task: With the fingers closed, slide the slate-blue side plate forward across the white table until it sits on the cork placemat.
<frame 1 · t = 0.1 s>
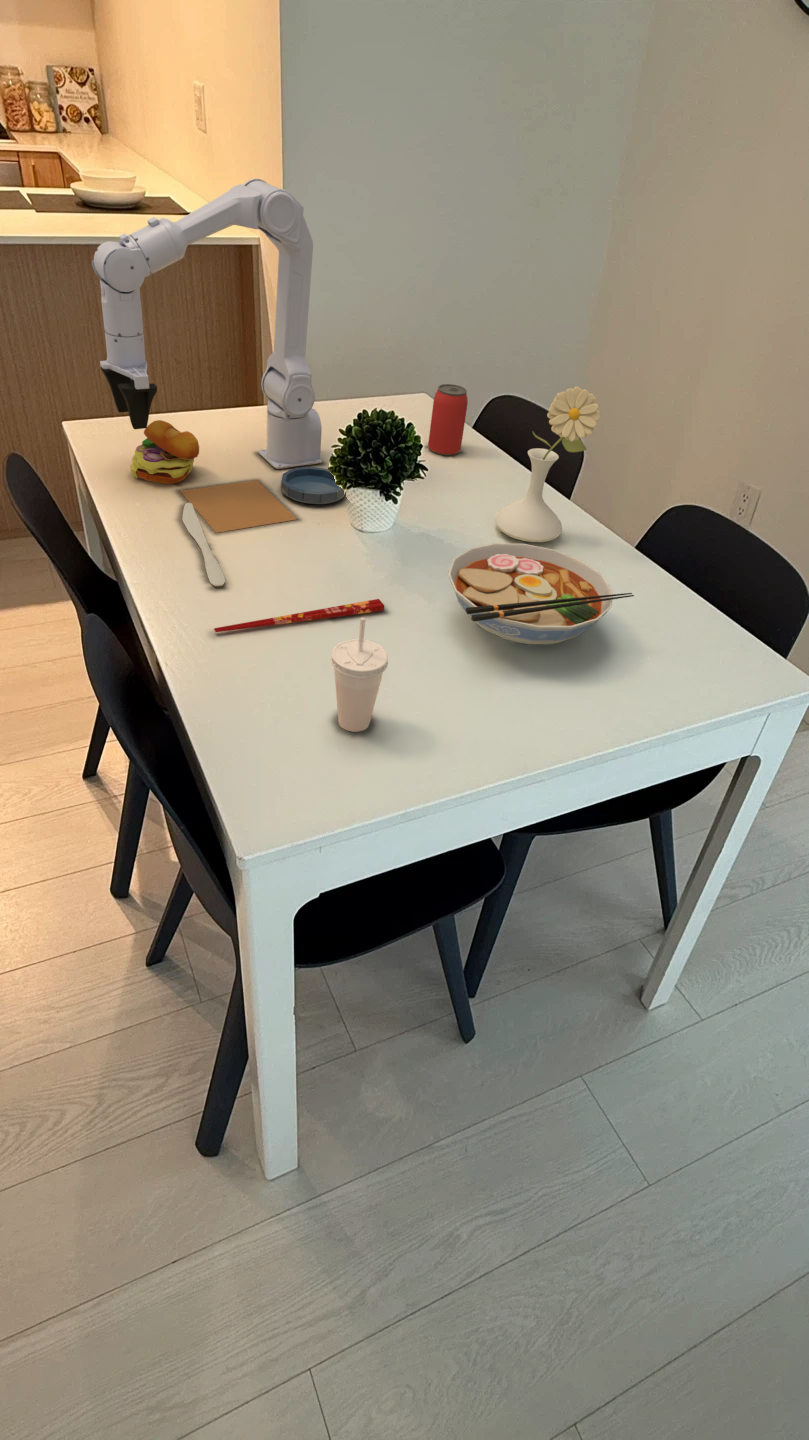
hand: (132, 419, 141), 10 cm above the table, tool pointing down, fingers open, 7 cm apart
smoothie: (353, 723, 103), on the table
placemat: (237, 505, 144), on the table
flower in vase: (531, 535, 147), on the table
cheeseburger: (165, 475, 150), on the table
ramen bowl: (520, 628, 123), on the table
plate: (313, 493, 150), on the table
butter knife: (200, 544, 132), on the table
beer can: (443, 450, 172), on the table
chopstick: (301, 621, 118), on the table
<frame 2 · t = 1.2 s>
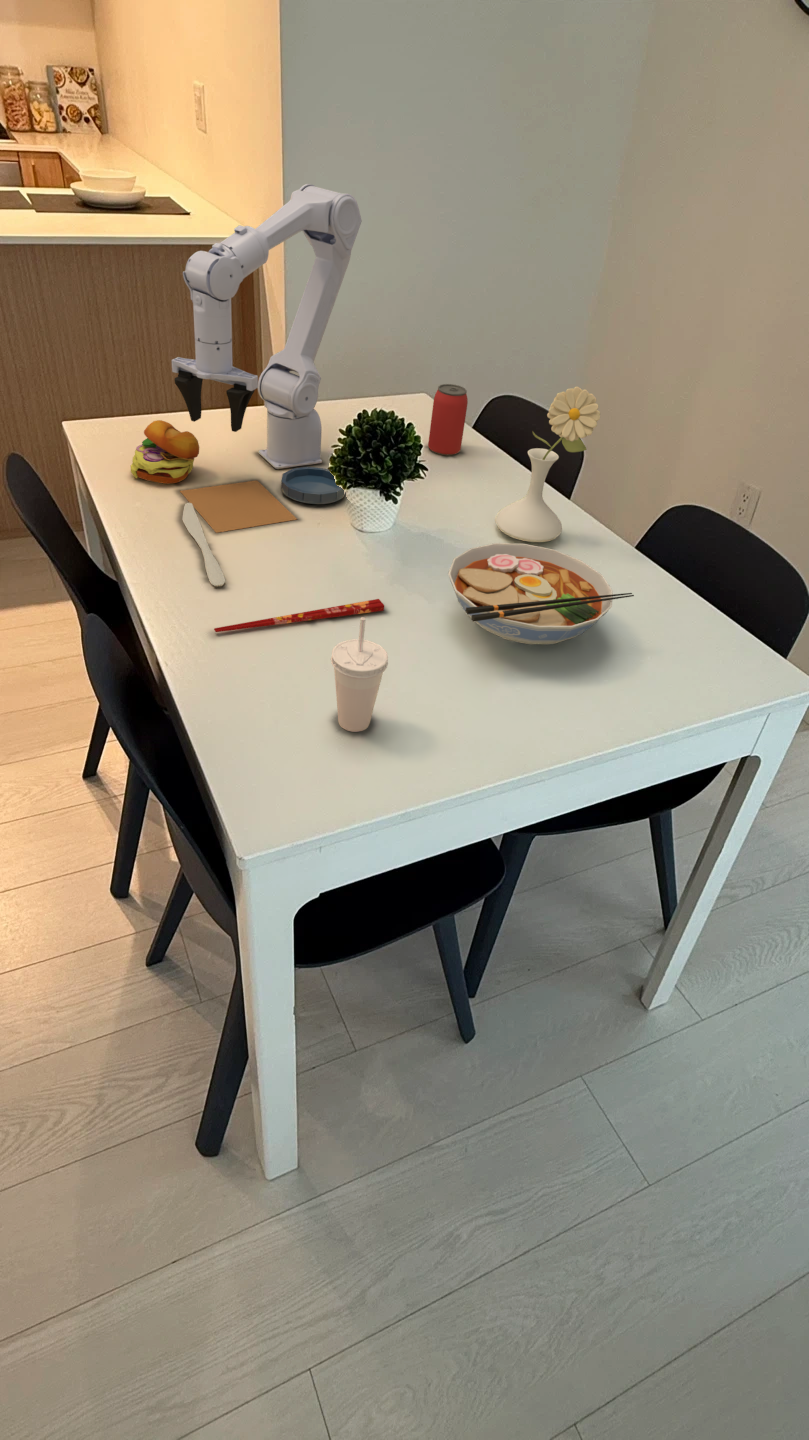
hand: (216, 424, 144), 10 cm above the table, tool pointing down, fingers open, 7 cm apart
nothing on the table moved.
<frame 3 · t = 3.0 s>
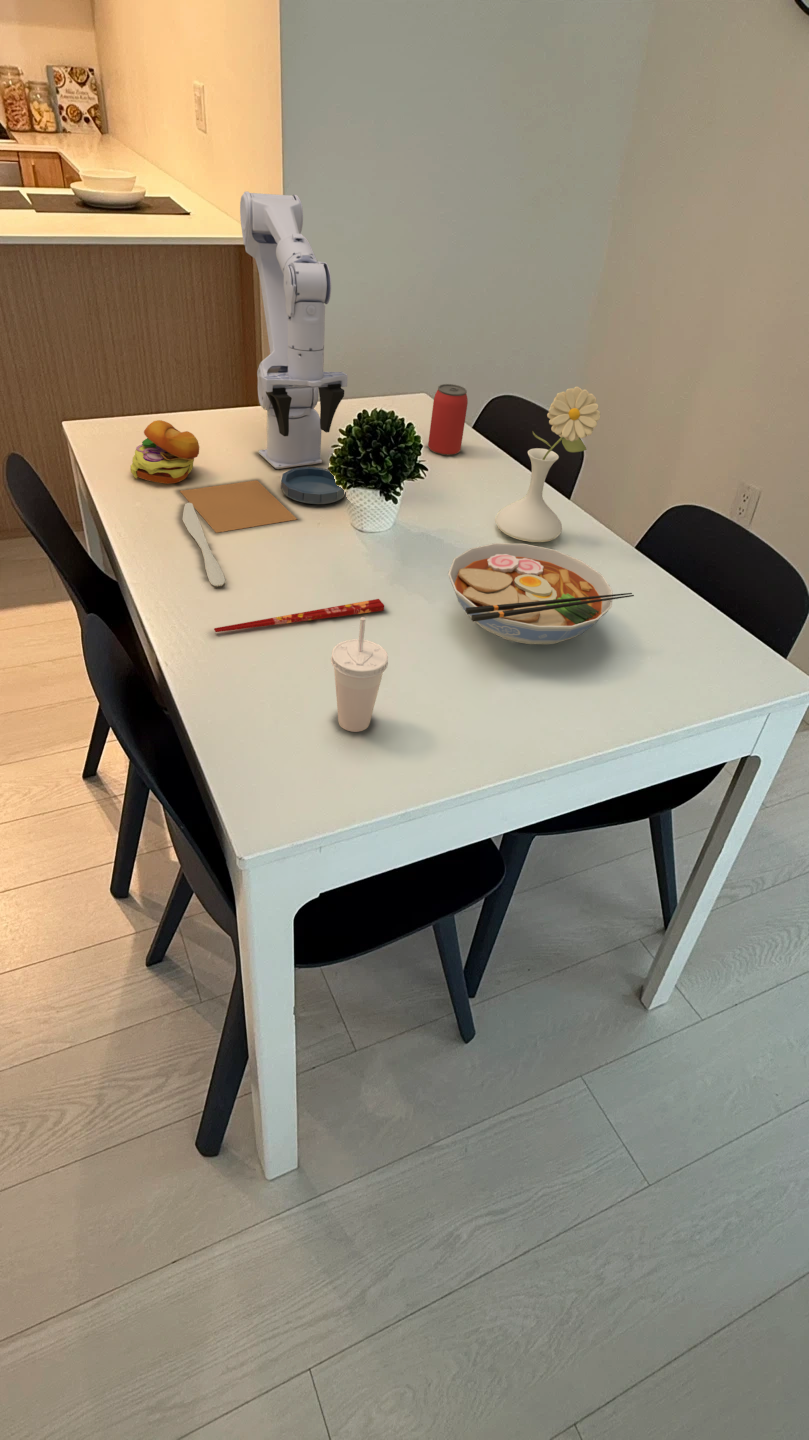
hand: (304, 432, 146), 10 cm above the table, tool pointing down, fingers open, 7 cm apart
nothing on the table moved.
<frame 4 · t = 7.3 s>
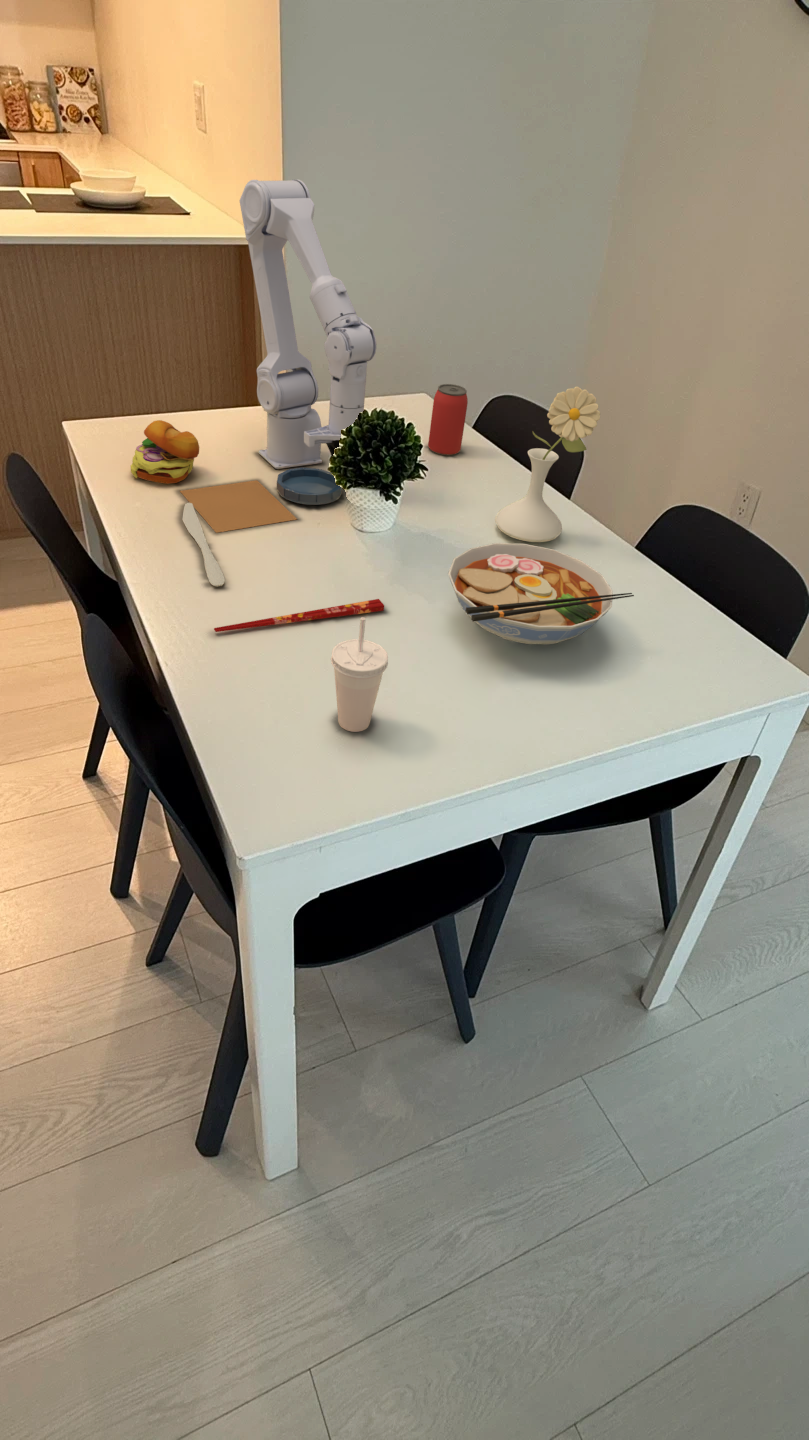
hand: (342, 480, 152), 2 cm above the table, tool pointing down, fingers closed
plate: (309, 494, 150), on the table, touching gripper
everything else where it was.
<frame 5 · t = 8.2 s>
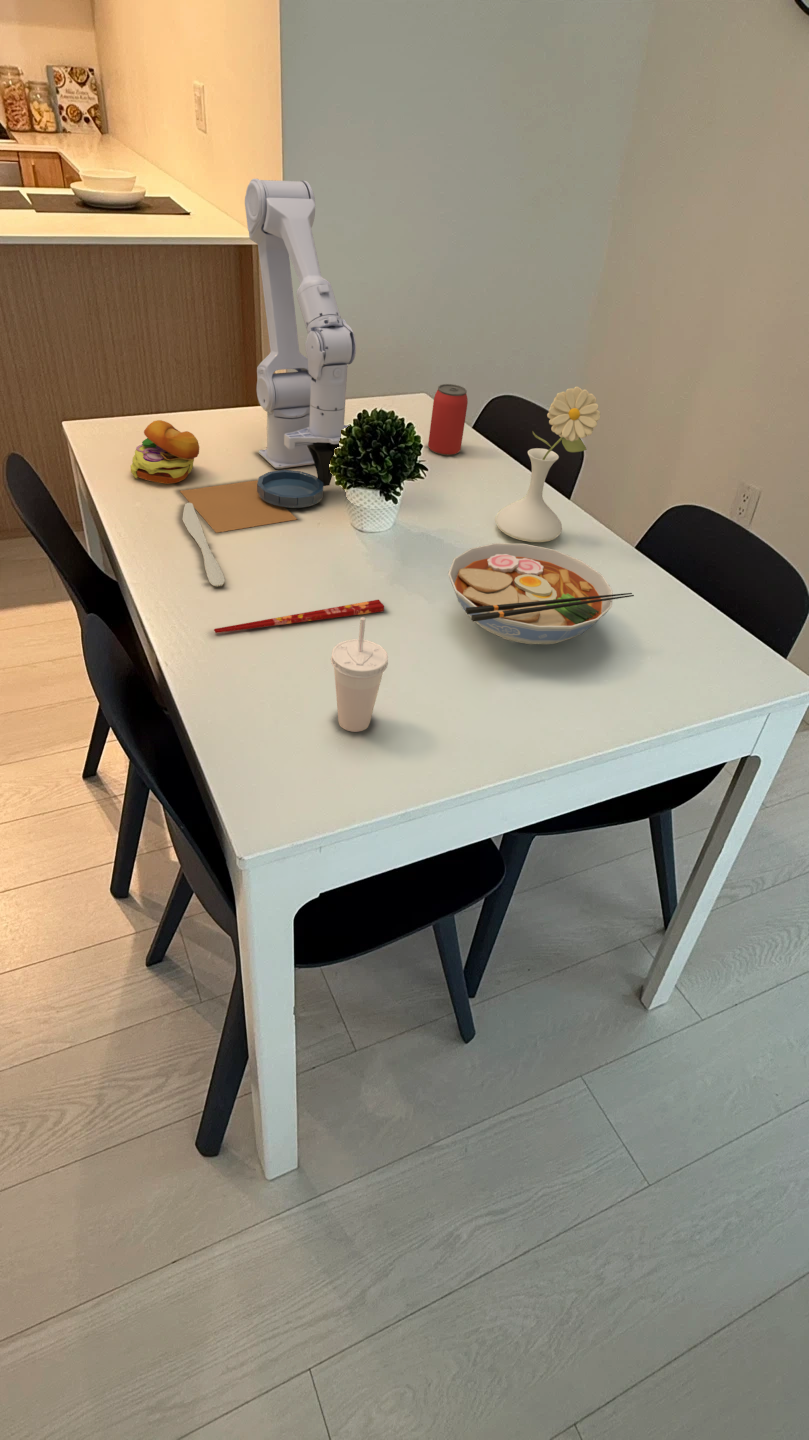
hand: (323, 483, 150), 2 cm above the table, tool pointing down, fingers closed
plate: (290, 497, 148), on the table, touching gripper, placemat
everything else where it was.
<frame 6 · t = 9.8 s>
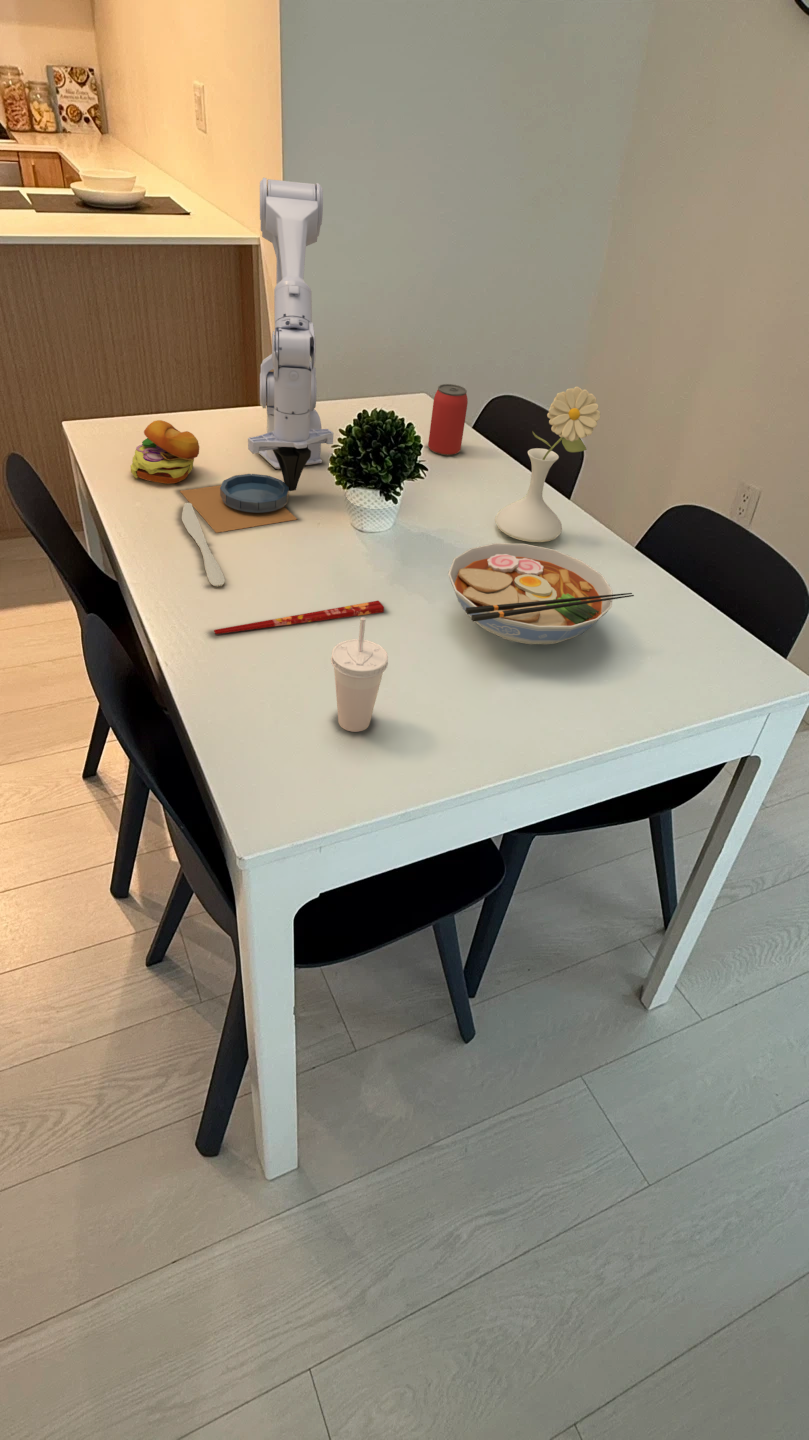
hand: (290, 488, 147), 2 cm above the table, tool pointing down, fingers closed
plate: (254, 501, 145), on the table, touching gripper, placemat
everything else where it was.
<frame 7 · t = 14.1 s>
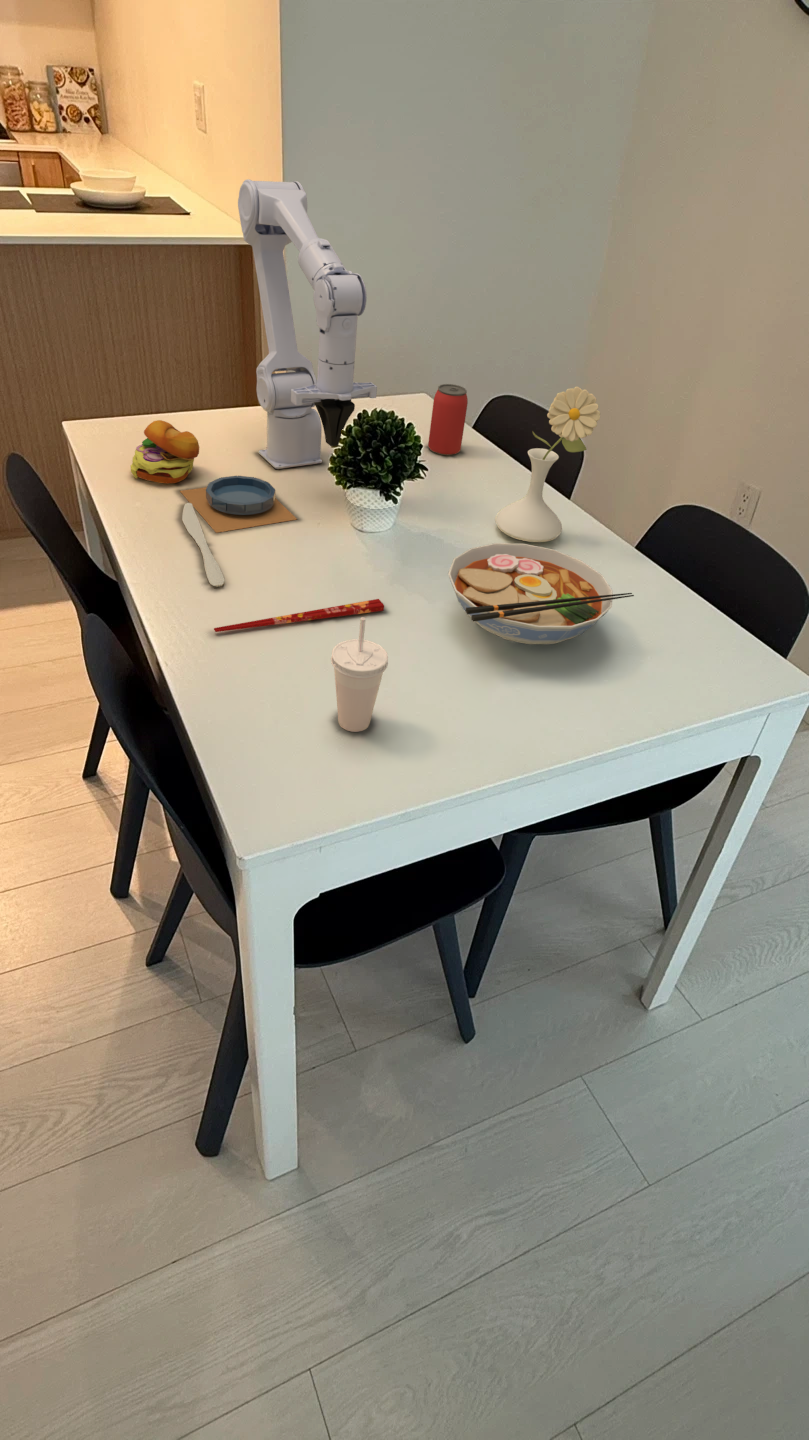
hand: (331, 443, 144), 9 cm above the table, tool pointing down, fingers closed
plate: (241, 503, 144), on the table, touching placemat
everything else where it was.
at the end: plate 0.7 cm off-centre on the placemat, point 0.0 cm above the placemat's base; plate tilted 0°; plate moved 13.3 cm from its start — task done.
